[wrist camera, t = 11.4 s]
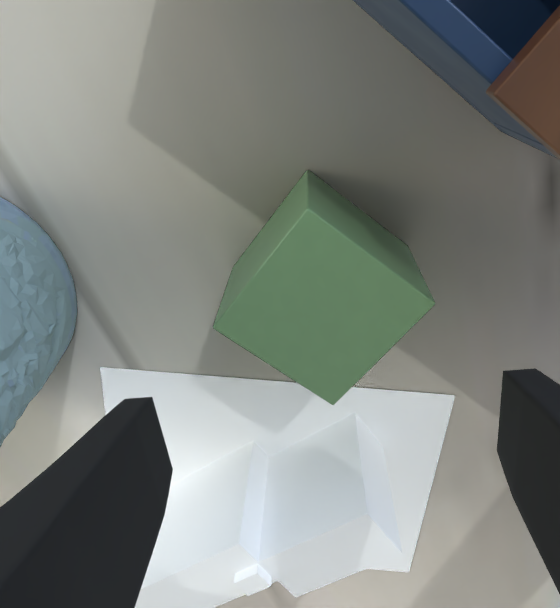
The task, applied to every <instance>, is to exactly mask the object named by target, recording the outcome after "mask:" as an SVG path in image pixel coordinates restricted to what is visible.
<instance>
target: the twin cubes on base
mask: <svg viewBox="0 0 560 608" xmlns="http://www.w3.org/2000/svg"><path fill="white" fill-rule="evenodd" d="M100 372H101V381H102V390H103V398H104V407H105V415H107V414H108V413H109V412H110V411H111V410H112V409H113V408H114V407H115V406H117V405H118V404H119V403H120V402H121V401H123V400H124V399H129V398H143V397H152V398H153V401H154V405H155V408H156V412H157V415H158V419H159V422H160V426H161V429H162V433H163V436H164V440H165V443H166V447H167V450H168V454H169V457H170V461H171V464H172V468H173V472H172V478H171V484H170V490H169V495H168V500H167V505H166V510H165V515H164V518H163V521H162V525H161V528H160V531H159V534H158V537H157V540H156V544H155V547H154V550H153V553H152V556H151V559H150V562H149V565H148V568H147V571H146V574H145V577H144V580H143V584H142V587H141V590H140V593H139V596H138V599H137V602H136V605H135V608H215V607H217V606H220V605H222V604H224V603H227V602H229V601H231V600H234V599H236V598H238V597H241V596H243V595H247V596H249V595H252V594H254V593H256V592H259V591H261V590H264V589H266V588H268V587H271V583H274V582H276V581H278V582H279V583H281V584H282V585H283V586H284V587H285V588H286V589H287V590H288V591H289V592H290V593H291V594H292V595H293V596H294V597H295V598H296V597H299V596H301V595H303V594H306V593H308V592H311V591H313V590H316V589H318V588H321V587H323V586H326V585H328V584H330V583H333V582H335V581H338V580H340V579H343V578H345V577H348V576H350V575H352V574H355V573H357V572H360V571H362V570H365V569H374V570H386V571H398V572H409V571H410V567H411V563H412V559H413V555H414V552H415V548H416V544H417V540H418V536H419V532H420V529H421V525H422V521H423V517H424V513H425V510H426V506H427V502H428V498H429V494H430V490H431V487H432V483H433V479H434V475H435V471H436V467H437V464H438V460H439V456H440V452H441V448H442V445H443V441H444V437H445V433H446V429H447V425H448V422H449V418H450V414H451V410H452V406H453V403H454V399H455V395H446V394H433V393H421V392H408V391H396V390H383V389H370V388H358V387H351V388H350V389H349V390H348V391H347V392H346V393H345V394H344V395H343V396H342V397H341V398H340V399H339V400H338V401H337V402H336V403H335V404H334V405H331V404H330V403H328V402H327V401H325V400H324V399H322V398H320V397H319V396H317V395H316V394H314V393H313V392H311V391H310V390H308V389H306V388H305V387H303V386H302V385H300V384H299V383H295V382H282V381H270V380H257V379H245V378H232V377H219V376H207V375H194V374H182V373H169V372H156V371H144V370H131V369H119V368H106V367H100Z"/></svg>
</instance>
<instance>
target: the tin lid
mask: <svg viewBox="0 0 560 608" xmlns="http://www.w3.org/2000/svg"><path fill="white" fill-rule="evenodd" d="M486 94H487V95H488V96H489V97H490V98H491V99H492V100H494V101H495V102H496V103H497V104H498V105H499V106H500V107H501V108H502V109H504V110H505V111H506V112H507V113H508V114H509V115H510V116H511V117H512V118H514V119H515V120H516V121H517V122H518V123H519V124H520V125H521V126H522V127H524V128H525V129H526V130H527V131H528V132H529V133H530V134H531V135H532V136H534V137H535V138H536V139H537V140H538V141H539V142H540V143H541V144H542V145H544V146H545V147H546V148H547V149H548V150H549V151H550V152H551V153H552V154H554V155H555V156H556V157H557V158H558V159H559V160H560V5H559V6H558V8H557V9H556V10H555V11H554V12H553V13H552V15H551V16H550V17H549V18H548V19H547V20H546V22H545V23H544V24H543V25H542V26H541V27H540V28H539V30H538V31H537V32H536V33H535V34H534V35H533V37H532V38H531V39H530V40H529V41H528V42H527V44H526V45H525V46H524V47H523V48H522V49H521V50H520V52H519V53H518V54H517V55H516V56H515V57H514V59H513V60H512V61H511V62H510V63H509V64H508V66H507V67H506V68H505V69H504V70H503V71H502V72H501V74H500V75H499V76H498V77H497V78H496V79H495V81H494V82H493V83H492V84H491V85H490V86H489V88H488V89H487V90H486Z"/></svg>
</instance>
